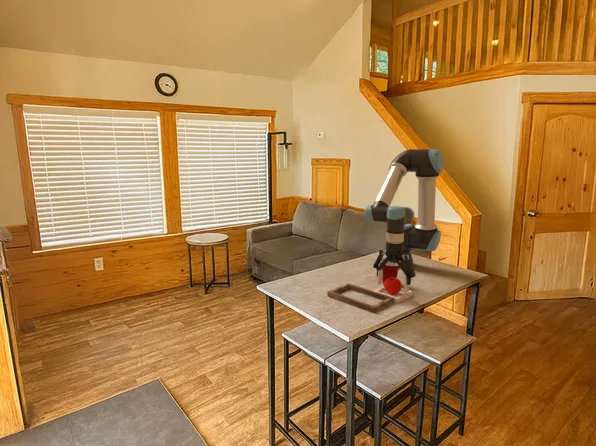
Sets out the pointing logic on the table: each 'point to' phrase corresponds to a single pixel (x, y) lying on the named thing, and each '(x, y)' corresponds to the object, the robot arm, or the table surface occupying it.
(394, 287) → the apple
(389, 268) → the plastic cup
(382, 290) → the dish
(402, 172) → the robot arm
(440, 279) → the table surface
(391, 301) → the pocket frame
